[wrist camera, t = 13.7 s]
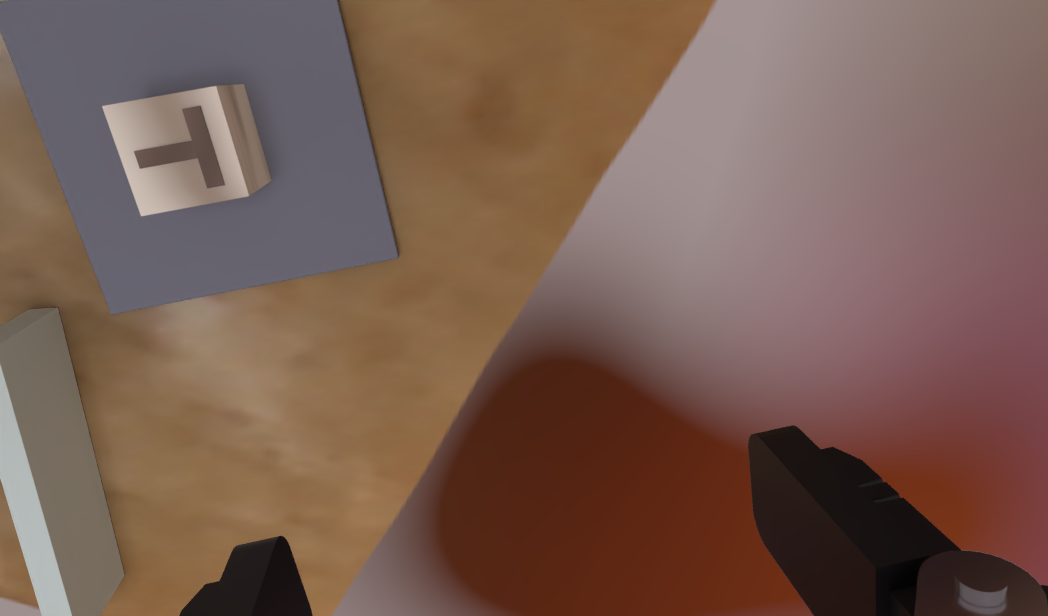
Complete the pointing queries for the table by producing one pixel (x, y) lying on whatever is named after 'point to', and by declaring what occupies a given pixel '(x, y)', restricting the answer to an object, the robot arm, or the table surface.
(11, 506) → the screen
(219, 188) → the letter cube
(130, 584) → the table surface
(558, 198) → the table surface
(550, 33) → the table surface
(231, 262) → the mat
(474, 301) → the table surface
